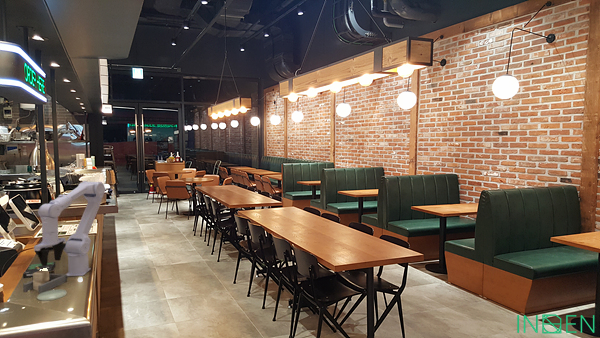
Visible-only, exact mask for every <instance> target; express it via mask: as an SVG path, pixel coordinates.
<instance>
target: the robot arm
mask: <svg viewBox="0 0 600 338" xmlns="http://www.w3.org/2000/svg"><path fill="white" fill-rule="evenodd" d="M77 185H78V186H77V187H75V188H74V189H72V190H71V191H70V192H69V193H67V194H59V195H58V197H56V198H55V199H52V200H50V201H49V203H43V204H42V205H40V207H39V208H38V210H37V214H38V216H39V217H40V221H41V233H42V234H41V235H42V237H41V238H42V241H40V243H39V244H36V245H34V246H33V250H34V253H35V254H36V256H37V257H38V259H39V261H40V263H41V264H42V265H44V266H46V265H47V263H49V261H48V260H49V259H48V258H49V254H50V249H47V248H49V247H51V248H52V250H53V255H54V261H58V262H59V261H61V258H62V254H63V252H65V253H66V256H67V261H68V262H67V265H68V267H67V268H68V270H67V271H68V272H66V274H65V275H67V277H81V276H82V277H83V276H84V275H86V274H87V273H88V272H89V271H91V267H90V266H89V255H88V253H89V251H90V250H91V249H90V248H91V242H92V240H91V238H90V236H89V234H90V232H91V229H92V227H93V224H94V221H95V218H96V216H97V213H98V211H99V209H100V206H101V204H102V200H103V197H104V195H105V192H106V187H105V184H104V183H103V182H102V181H87V180H83V181H82V182H80V183H78V184H77ZM81 196H83V198H84V199H85V200H87V203H86V207H85V209H84V211H83V214H82V216H81V218H80V221H79V223H78V225H77V228H76V230H75V232H74V233H72V234H71V235H70V236H69V237H68V239H67V240H66V237H60V238H59V224H58V223H59V220H58V218H59V217H60V215H61V213H62V212H63V211H64V210H66V209H67V208H68V207H70V206H71V205H72V203H73V201H74V200H76V199H77V198H80V197H81Z"/></svg>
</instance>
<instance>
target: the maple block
mask: <svg viewBox="0 0 600 338" xmlns="http://www.w3.org/2000/svg"><path fill="white" fill-rule="evenodd" d="M32 281H33V289H32V290H33V291H38V286H39V285H42V284H44V283H46V282H49V271H42V270H41V271H38V272H35V273H33V277H32Z"/></svg>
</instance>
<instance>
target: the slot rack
mask: <svg viewBox="0 0 600 338" xmlns="http://www.w3.org/2000/svg"><path fill="white" fill-rule="evenodd" d="M49 280H51V281H49V282H46V283H44V284H42V285H39V286H38V290H37V292H38V294H41V293H43V292H46V291H50V290H53V289H54V288H56V287H58V286H61V285H62V284H65V283H67V282H68V276H67V275H66V274H62V273H60V274H58V273H52V272H51V273H50V274H49ZM22 287H23V292H25V293H27V292H29V291H31V290H33V280H30V281H28V282H25V283H23V286H22Z"/></svg>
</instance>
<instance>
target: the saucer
mask: <svg viewBox="0 0 600 338" xmlns="http://www.w3.org/2000/svg"><path fill="white" fill-rule="evenodd" d="M67 294H68V293H67V290H66V289H59V288H58V289H50V290H48V291H45V292H43V293H38V294H37V296H36V299H37V300H38V301H43V302H45V301H46V302H47V301H48V302H49V301H55V300H58V299H61V298H64V297H65V296H66V295H67Z"/></svg>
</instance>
